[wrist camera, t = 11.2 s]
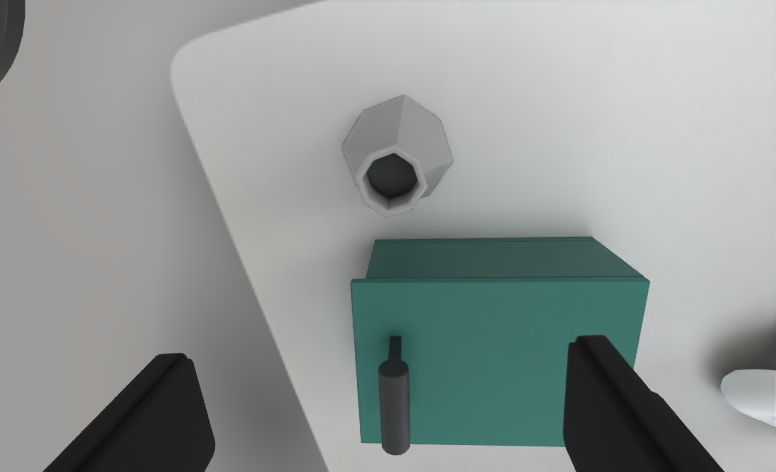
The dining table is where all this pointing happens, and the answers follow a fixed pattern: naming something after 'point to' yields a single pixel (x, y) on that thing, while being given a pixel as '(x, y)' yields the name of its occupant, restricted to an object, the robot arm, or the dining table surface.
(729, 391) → the white decorative knot
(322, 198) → the dining table surface
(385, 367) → the lunchbox lid
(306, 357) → the dining table surface
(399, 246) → the box
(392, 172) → the flask
